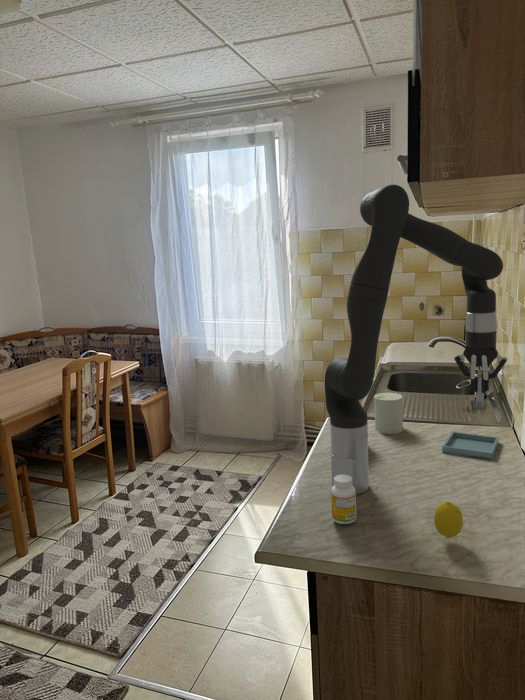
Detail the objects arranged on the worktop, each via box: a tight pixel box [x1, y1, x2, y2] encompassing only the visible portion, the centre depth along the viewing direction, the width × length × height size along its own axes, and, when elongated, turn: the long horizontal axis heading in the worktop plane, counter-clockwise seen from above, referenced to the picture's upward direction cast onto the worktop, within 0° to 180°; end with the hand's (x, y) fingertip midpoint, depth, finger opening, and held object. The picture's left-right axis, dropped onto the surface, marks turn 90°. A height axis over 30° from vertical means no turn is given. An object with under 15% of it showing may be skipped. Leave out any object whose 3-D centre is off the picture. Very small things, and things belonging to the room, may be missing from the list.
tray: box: [441, 431, 500, 461], centre depth 149 cm, size 13×13×2 cm
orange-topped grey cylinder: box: [475, 369, 485, 408], centre depth 137 cm, size 2×2×10 cm
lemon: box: [433, 500, 464, 539], centre depth 104 cm, size 6×6×8 cm
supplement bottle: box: [330, 475, 357, 525], centre depth 113 cm, size 5×5×10 cm
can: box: [373, 392, 404, 435], centre depth 167 cm, size 9×9×12 cm
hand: (479, 391), depth 138 cm, fingers closed on orange-topped grey cylinder, 2 cm apart
